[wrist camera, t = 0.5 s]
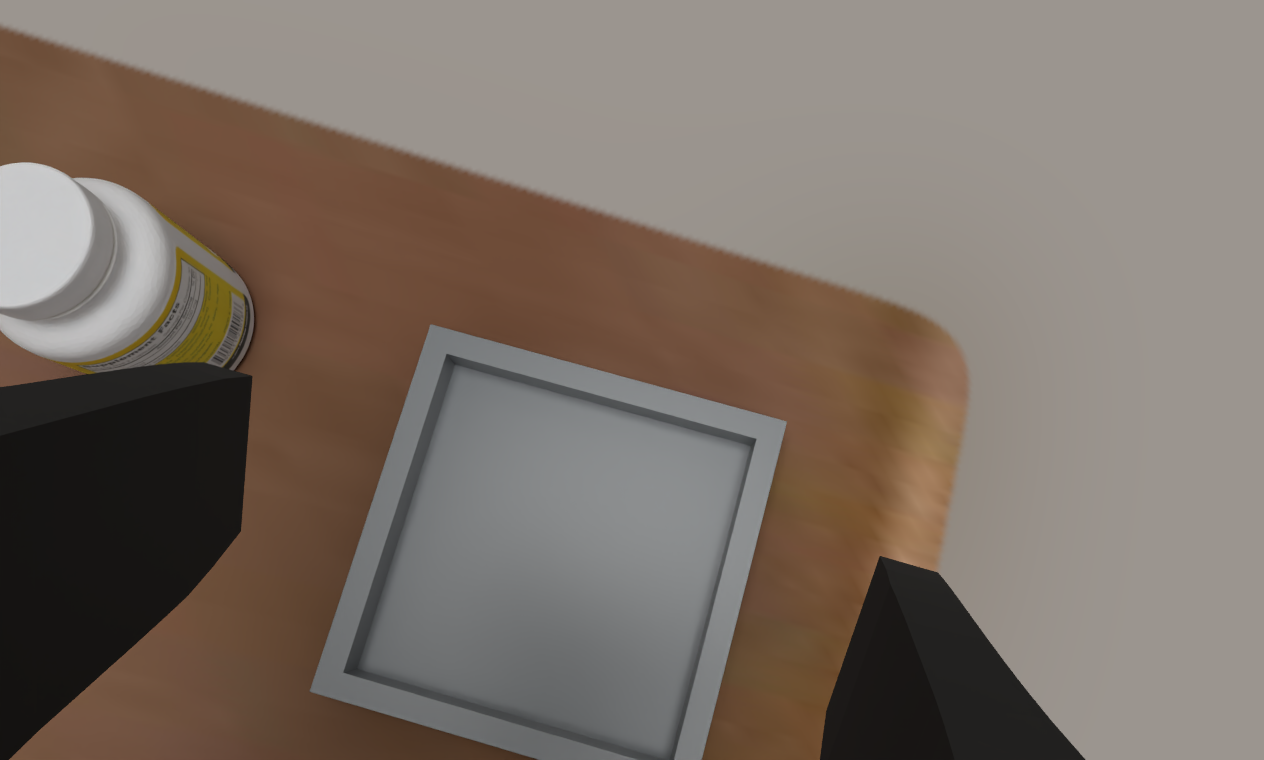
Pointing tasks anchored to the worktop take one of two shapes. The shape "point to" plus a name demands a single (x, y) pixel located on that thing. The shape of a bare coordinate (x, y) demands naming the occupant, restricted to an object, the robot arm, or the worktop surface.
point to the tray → (552, 557)
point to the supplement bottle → (111, 278)
